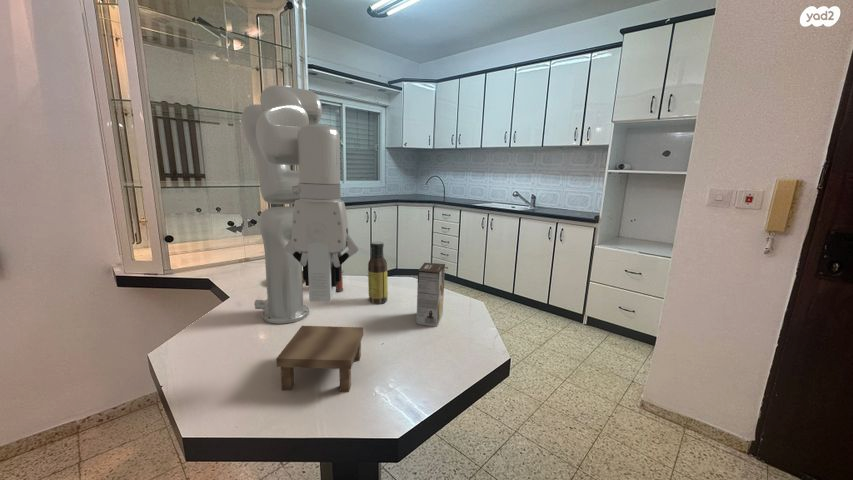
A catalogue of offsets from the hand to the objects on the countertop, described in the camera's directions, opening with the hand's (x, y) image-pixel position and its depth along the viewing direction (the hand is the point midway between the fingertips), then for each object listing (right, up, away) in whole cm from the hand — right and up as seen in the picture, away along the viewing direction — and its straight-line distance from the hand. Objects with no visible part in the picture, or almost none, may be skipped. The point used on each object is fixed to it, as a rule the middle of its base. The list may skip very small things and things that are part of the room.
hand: (322, 283), depth 69 cm
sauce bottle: (+5, -12, +44) cm, 46 cm away
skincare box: (0, -3, +1) cm, 3 cm away
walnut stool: (-1, -19, +4) cm, 20 cm away
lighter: (-12, -9, +54) cm, 56 cm away
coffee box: (+22, -15, +32) cm, 41 cm away
